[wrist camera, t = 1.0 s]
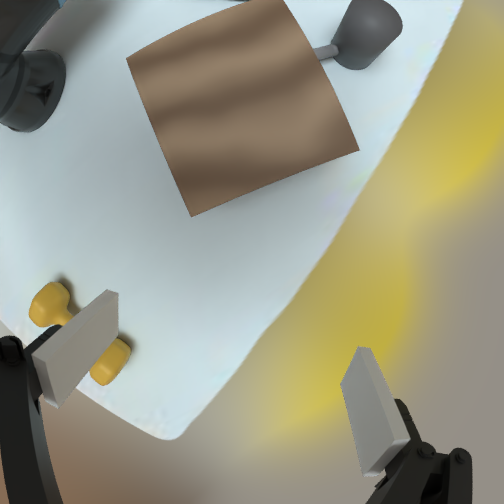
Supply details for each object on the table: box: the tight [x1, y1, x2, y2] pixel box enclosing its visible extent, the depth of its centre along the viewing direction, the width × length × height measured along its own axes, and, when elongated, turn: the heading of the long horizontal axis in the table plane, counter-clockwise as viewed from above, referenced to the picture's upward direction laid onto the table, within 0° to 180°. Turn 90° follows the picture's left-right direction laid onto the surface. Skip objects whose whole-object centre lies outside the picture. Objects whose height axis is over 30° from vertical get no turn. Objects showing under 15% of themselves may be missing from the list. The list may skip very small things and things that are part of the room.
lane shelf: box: [126, 0, 359, 217], centre depth 28 cm, size 18×16×12 cm
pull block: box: [313, 0, 403, 70], centre depth 27 cm, size 6×19×11 cm, turn 113°
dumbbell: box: [29, 282, 131, 386], centre depth 41 cm, size 19×9×8 cm, turn 48°
